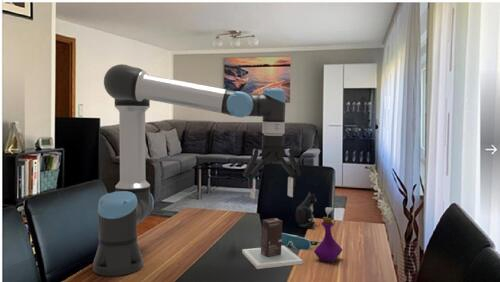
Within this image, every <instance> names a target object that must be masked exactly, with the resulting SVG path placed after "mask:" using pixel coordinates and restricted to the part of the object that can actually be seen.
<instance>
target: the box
mask: <svg viewBox="0 0 500 282" xmlns="http://www.w3.org/2000/svg"><path fill="white" fill-rule="evenodd" d="M283 222H284V221H283V220H281V219H279V218H276V217H274V218H266V219H262V220H261V239H260V240H261V241H260V248H261V254H262V255H264V256H266V257H270V256H275V255H281V246H282V245H283V244H282V233H283Z"/></svg>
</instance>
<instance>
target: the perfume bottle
mask: <svg viewBox="0 0 500 282" xmlns="http://www.w3.org/2000/svg"><path fill="white" fill-rule="evenodd" d="M324 209H325V210H324V211H325V213H326V215H327V216H323V217H322V220H323V221H321V222H320V224H321V225H322V226H323V228H324V230H325V231H324V232H325V233H324V236H323V239H322V240H321V241H322V242H321V243H320V244H319V245H318V246H317V247H316V248H315V250H313V253H314V254H315V256H316V257H317V258H318V260H320V262H325V263H330V264H331V263H334V262H335V261H336V259H338V257H339V255H340V254H341V253H342V251H343V248H342V247H341V246H340V245H339V244H338V242H337V241H336V239H334V237H333V235H332V229H331V228H332V227H333V226H334V222H333V220H332V218H331V217H329V215H330V214H331V213H333V212H334V210H335V208H333V207H328V206H327V207H325V208H324Z"/></svg>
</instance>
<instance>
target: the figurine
mask: <svg viewBox="0 0 500 282" xmlns="http://www.w3.org/2000/svg"><path fill="white" fill-rule="evenodd" d="M315 194H316V193H313V194H312V193H311V191H308V193H307V196H306V198H305V199H304V200H303V201H302V202H301V203H300V204H298V206H296V209H295V213H294V214H295V221H296V222H297V224H298V225H297V226H298V227H299V228H301V229H309V230H310V229H314V228H315V224H316V222H315V221H314V217H315V215H314V214H313V212H314V204H315V203H316V202H317V199H316V198H317V197H316V196H315Z"/></svg>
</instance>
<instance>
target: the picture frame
mask: <svg viewBox="0 0 500 282" xmlns="http://www.w3.org/2000/svg"><path fill="white" fill-rule="evenodd" d="M241 252H242V254H243V256H244V257H245V258H246V259H247V260H248V261H249V262H250V263H251V264H252V266H254V267H255V269H256V270H260V269H270V268H279V267H286V266H288V267H289V266H294V265H295V266H296V265H303V263H304V262H303V261H304V260H303V259H301V258H300V257H299V256H298V255H297V254H296V253H294V252H293V251H292V250H290V248H288V247H287V246H285V245H281V255H275V256H270V257H266V256H264V255H262V254H261V247H255V248H253V247H252V248H244V249H243V248H242V250H241Z"/></svg>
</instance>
